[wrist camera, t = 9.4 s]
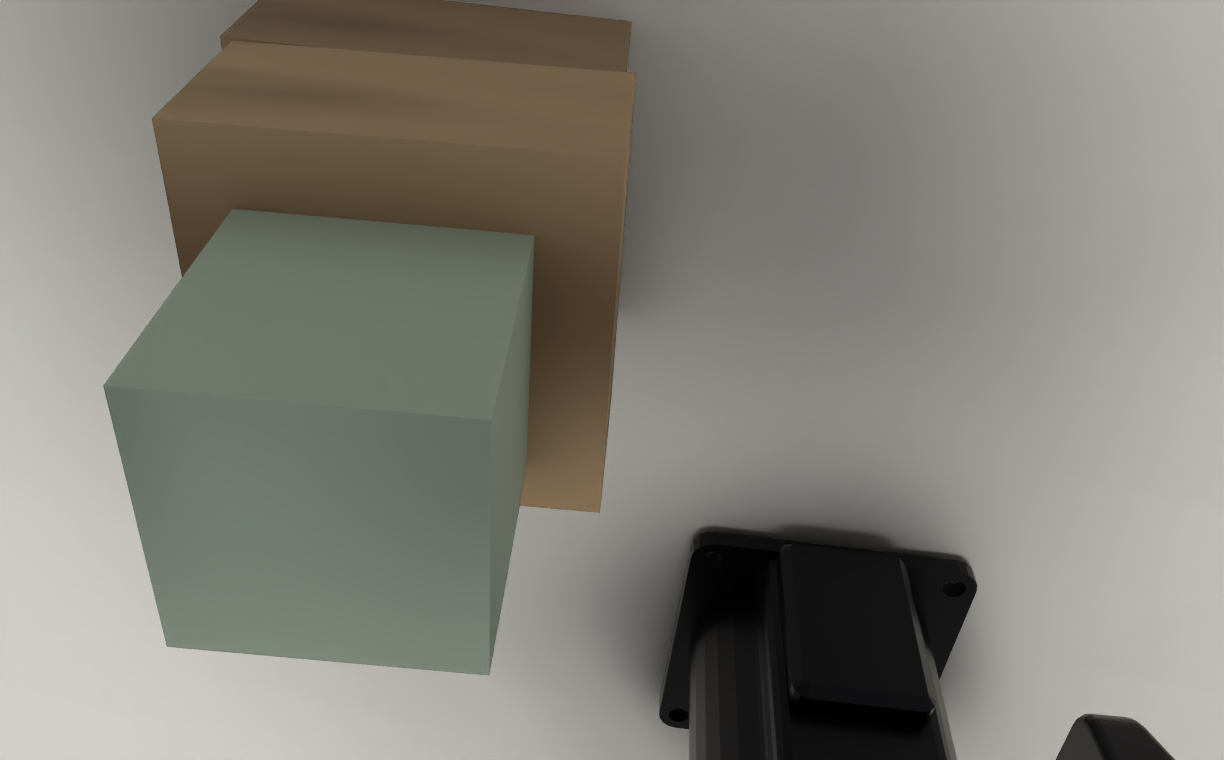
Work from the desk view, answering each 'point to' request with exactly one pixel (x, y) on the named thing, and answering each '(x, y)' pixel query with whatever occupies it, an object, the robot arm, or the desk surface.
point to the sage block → (333, 440)
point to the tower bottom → (439, 31)
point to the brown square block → (435, 193)
